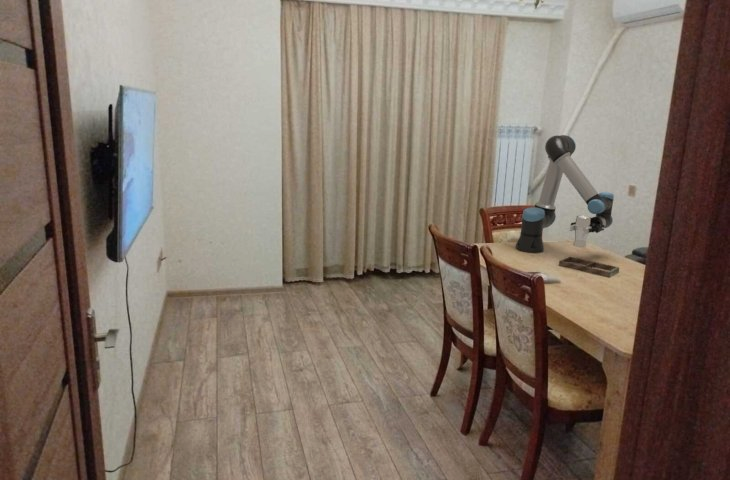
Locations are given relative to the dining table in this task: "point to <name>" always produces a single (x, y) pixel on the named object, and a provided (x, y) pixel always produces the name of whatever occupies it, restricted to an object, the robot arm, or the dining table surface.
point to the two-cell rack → (589, 266)
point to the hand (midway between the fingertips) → (578, 229)
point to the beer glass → (581, 230)
